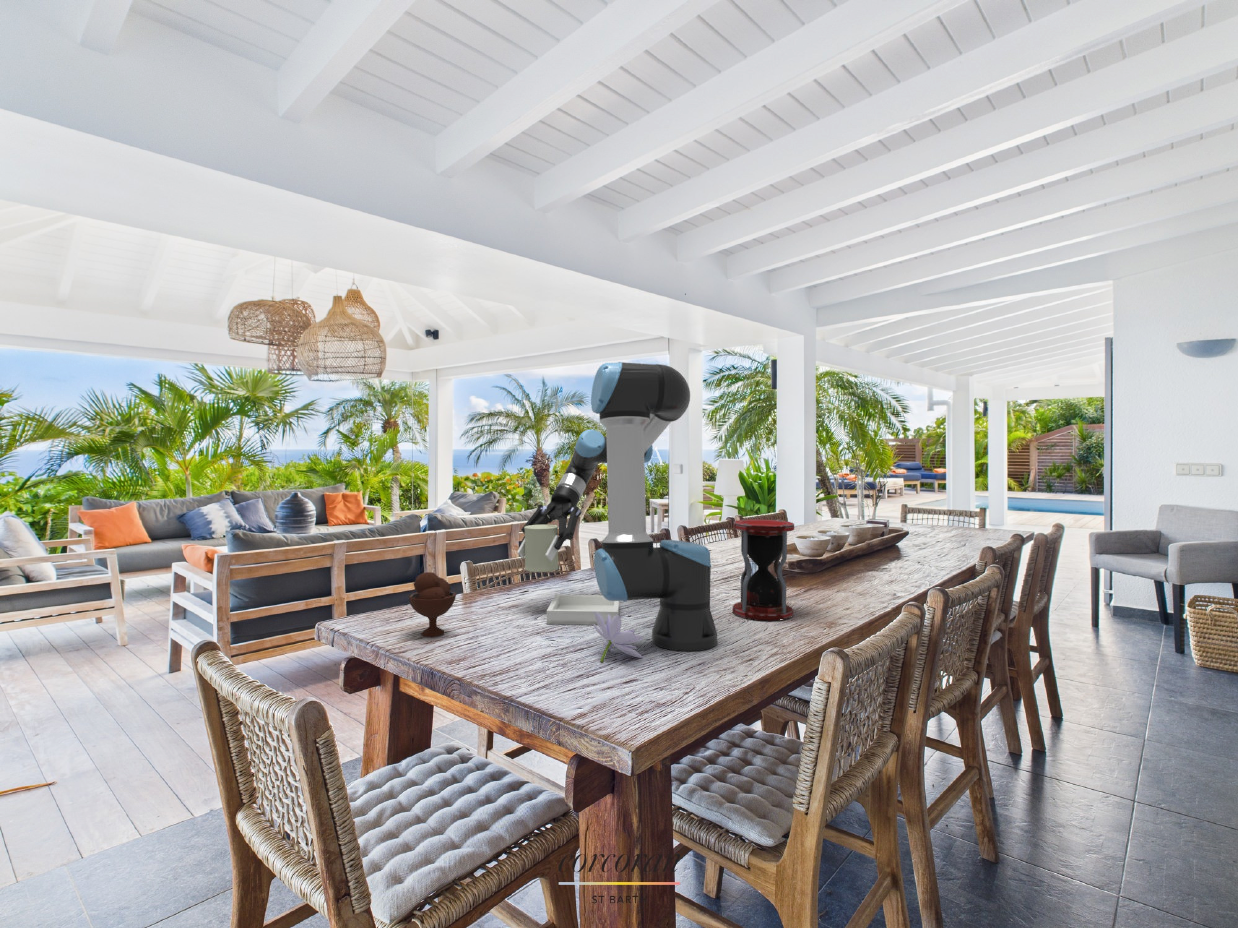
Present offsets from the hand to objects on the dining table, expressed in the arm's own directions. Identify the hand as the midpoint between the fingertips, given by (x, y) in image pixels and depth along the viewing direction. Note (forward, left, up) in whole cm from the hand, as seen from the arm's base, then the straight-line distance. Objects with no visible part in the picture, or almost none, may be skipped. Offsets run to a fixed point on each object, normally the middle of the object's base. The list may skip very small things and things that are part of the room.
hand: (534, 556), depth 178 cm
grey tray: (-1, -14, -16) cm, 21 cm away
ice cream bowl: (-20, +21, -16) cm, 33 cm away
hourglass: (+4, -62, -16) cm, 64 cm away
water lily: (-35, -24, -16) cm, 45 cm away
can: (+3, -2, -4) cm, 5 cm away
